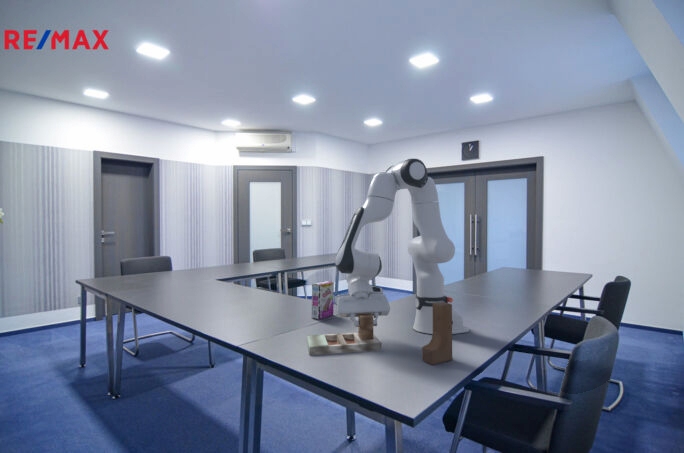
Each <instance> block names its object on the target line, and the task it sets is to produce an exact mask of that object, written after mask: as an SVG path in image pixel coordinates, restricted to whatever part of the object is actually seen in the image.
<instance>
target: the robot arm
mask: <svg viewBox="0 0 684 453" xmlns="http://www.w3.org/2000/svg"><path fill="white" fill-rule="evenodd" d="M437 189H438V188H437V186H436V183H435V181H434V179H433V178H432V177H430V176H429V173H428V170H427V166H426V165H425V163H424V162H423V160H420V159H419V158H407V159H405V160H401V161H399V162H397V163H396V164H393V165H391V166H389V167H388V168H387V169H386V171H380V172H377V173H375V174H374V176H373V177H372V179H371V181H370V184H369V187H368V190H367V193H366V194H367V195H366V198H365V201H364V203H363V205H362V206H361V207H359V208H357V209H356V210H355V212H354V213H353V215H352V218H351V220H350V223H349V224H348V228H347V230H346V233H345V235H344V237H343V241H342V243H341V245H340V247H339V249H338V251H337V253H336V255H335V258H334V265H335V267H336V269H337V270H338V272H340V273H341V274H345V278H346V283H347V291H348V293H344V294H340V293H339V294H337V295H336V296H334V297H333V301H334V304H336V317H338V318H340V319H342V318H343V319H345V318H349V319H350V321H351V322H352V323H353V325H354V328H358V327H359V321H358V320H357V319H356V318H358V315H359V314H371V315H372V316H373V327H377V326H378V318H379V317H383V316H385V317H386V316H388V315H389V314H390V311H391V305H390V303H389V302H390V301H389V300H388V298H387V296H386V295H385V294H384V288H382V287H380V286H379V287H378V286H374V285H372V284H370V281H372V280H373V279H375V278H376V277H377V276H378V275H380V274H381V271H382V268H383V265H382V259H381V257H380V255H379V253H375V252H372V251H367V250H366V251H365V250H361V249H357V248H355V246H356V243H357V241H358V239H359V236H360V234H361V231H362V229H363V227H365V226H367V225H368V224H373V223H379V222H382V221H385V220H387V219H388V218H389V217H390V216H391V215H392V212H393V209H394V204H395V198H396V193H397V192H398V191H400V190H408V192H409V194H410V199H411V200H410V202H411V211H412V219H413V220H412V221H413V224H414V225H415V227H416V228H417V230H418V232H419V235H418V236H415V237H413V238H411V239H410V241H409V242H408V245H407V252H408V254H409V255H410V256H411V260H412V262H413V267H414V270H415V271H414V272H415V276H416V294H415V318H414V322H413V323H414V324H413V326H412V328H413V330H414V331H416V332H420V333H424V334H430V335H432V334H433V303H437V302H445V303H449V304H451V303H452V302H453V297H450V296H446V295H445V277H444V274H443V273H442V272H441V270H440V268H439V264H445V263H448V262H450V261H451V260H453V258H454V256H455V255H456V254H455V253H456V247H455V244H454V243H453V242H452V240H451V239H450V238H449V237H448V234H447V233H446V230H445V228H444V225H443V221H442V218H441V211H440V210H441V209H440V202H439V196H438V190H437ZM468 332H470V329H469V326H467V324H466V325H465V324H464V321H463V317H462V315H461V313H459V311H457V310H456V309H455V308H454V307H452V335H455V334H456V335H457V334H461V333H462V334H463V333H468Z"/></svg>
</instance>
